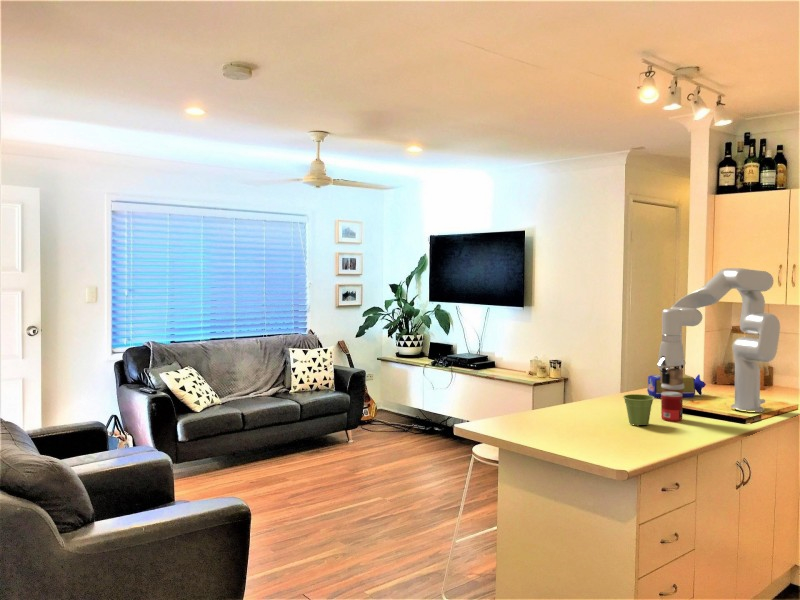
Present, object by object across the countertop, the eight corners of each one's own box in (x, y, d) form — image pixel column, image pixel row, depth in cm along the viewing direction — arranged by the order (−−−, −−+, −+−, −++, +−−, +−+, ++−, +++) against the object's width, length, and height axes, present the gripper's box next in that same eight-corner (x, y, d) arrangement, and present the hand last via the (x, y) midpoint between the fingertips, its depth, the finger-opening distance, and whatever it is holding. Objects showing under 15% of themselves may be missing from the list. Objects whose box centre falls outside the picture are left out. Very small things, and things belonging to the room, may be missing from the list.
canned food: (684, 422, 256) (684, 395, 255) (663, 421, 257) (663, 395, 256) (680, 417, 263) (679, 391, 262) (659, 417, 265) (659, 391, 264)
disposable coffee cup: (661, 411, 274) (661, 384, 273) (660, 406, 282) (660, 380, 282) (685, 413, 270) (685, 385, 269) (684, 408, 279) (684, 381, 278)
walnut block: (670, 381, 263) (670, 367, 263) (682, 384, 258) (682, 369, 257) (660, 383, 260) (660, 369, 260) (672, 385, 255) (672, 371, 255)
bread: (645, 394, 308) (645, 374, 308) (695, 393, 308) (695, 372, 308) (653, 399, 298) (653, 377, 297) (706, 397, 298) (706, 376, 298)
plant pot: (655, 422, 257) (655, 394, 256) (653, 429, 246) (653, 400, 246) (624, 419, 262) (624, 392, 261) (621, 426, 251) (621, 398, 250)
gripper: (678, 336, 265) (678, 379, 266) (649, 339, 257) (649, 383, 258) (693, 338, 259) (693, 381, 260) (664, 341, 251) (664, 386, 252)
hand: (671, 382), depth 259 cm, fingers closed on walnut block, 6 cm apart
